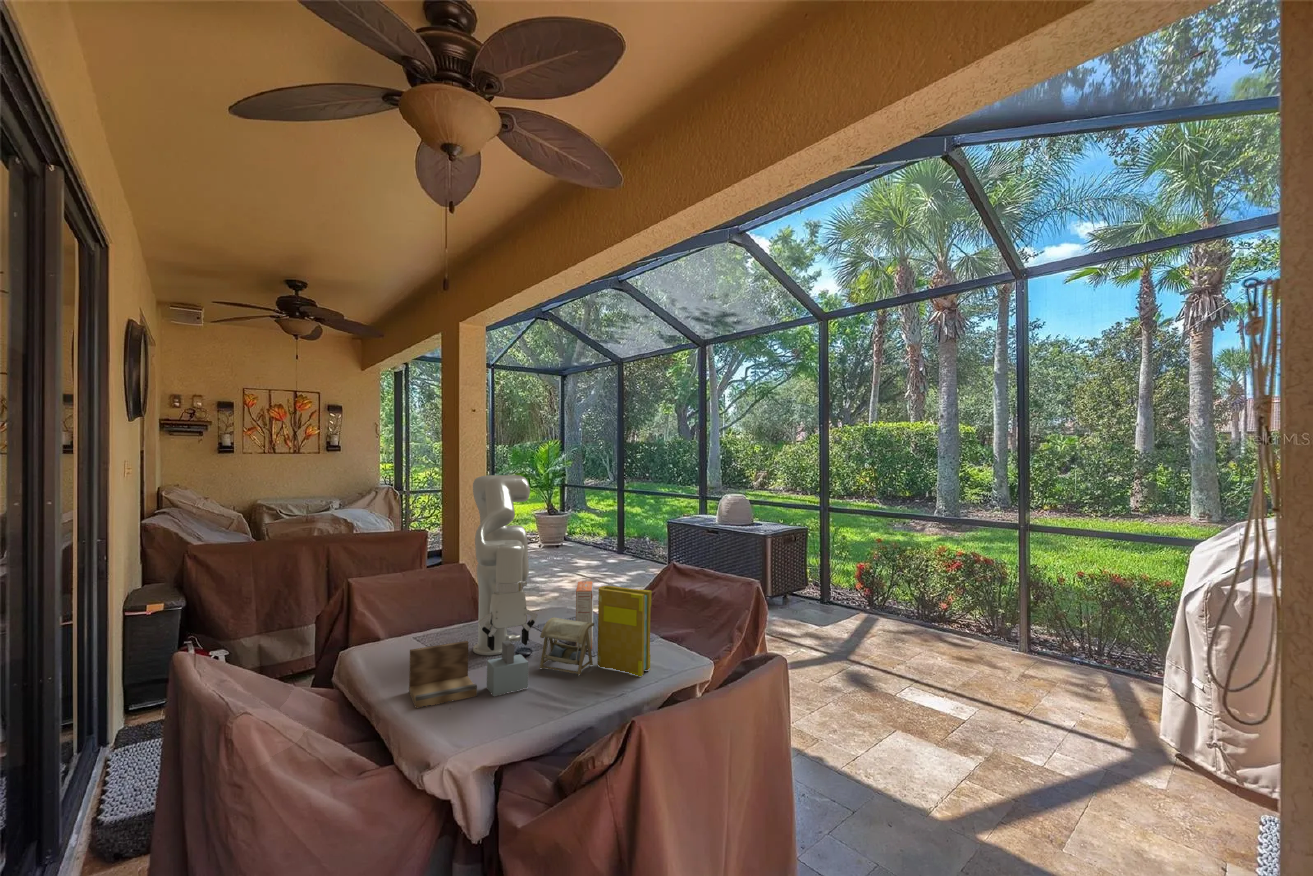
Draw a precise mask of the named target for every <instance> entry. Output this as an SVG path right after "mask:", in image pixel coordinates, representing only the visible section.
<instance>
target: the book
mask: <svg viewBox="0 0 1313 876" xmlns="http://www.w3.org/2000/svg"><path fill="white" fill-rule="evenodd" d="M597 594H598V602H597V603H598V605H597V610H598V611H597V663H596V664H598V665H599V666H600V667H605V668H613V669H616V670H620V671H625V672H629V673H632V674H635V675H638V676H642V675H643V674H644V672H645V671H644V670H648V669H649V668H650V669H651V613H652V612H651V607H652V590H648V589H638V588H629V587H622V586H621V587H620V586H613V585H601V586H599V587H598V593H597ZM643 676H644V675H643ZM643 676H642V677H643Z"/></svg>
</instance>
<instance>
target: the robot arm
mask: <svg viewBox="0 0 1313 876" xmlns="http://www.w3.org/2000/svg"><path fill="white" fill-rule="evenodd" d="M530 494H531V488H530V484H529V481H528V479H527V478H526V476H524V475H523V476H522V475H517V474H516V475H515V474H514V475H513V474H512V475H511V474H509V475H508V474H507V475H506V474H505V475H504V474H503V475H499V474H498V475H497V474H492V475H491V474H490V475H489V474H488V475H481V476H477V477H476V478H474V480H473V482H472V495H473V499H474V503H475V504H476V507H477V509H478V513H479V525H478V527H477V529H476V532H475V535H474V536H475V537H474V547H475V558H476V561H477V566H476V579H477V587H478V620H477V624H478V626H477V627H478V628H477V631H478V632H477V643H476V644H474V645H473V646H472V647H473V648H472V649H473V650H472V651H473V652H474V653H475V654H476V655H479V656H496V655H502V642H504V641H510V642H511V643H512V644H513V642H520V641H521V643H522V644H523V646H527V645H528V642H529V639H530V631H531V629H532V627H533V626H534V625H535V623H536V620H537V618H538V613H537V612H534V611H532V610H530V609H528V608H527V600H526V599H527V598H526V593H525V590H524V587H526V586H528V582H527V580H528V579H529V572H530V571H529V570H530V568H529V548H528V546H529V545H528V543H529V542H528V534H527V532H526V529H525V528H524V526H522V525H518V524H513V525H511V523H512V522H513V520H514V519H515V518H516V517H515V516H516V513H515V512H516V511H515V506H514V503H517V502H518V503H522V502H523V503H524V502H526V501H528V499H529V497H530ZM509 524H510V525H509ZM528 616H530V619H529V620H528ZM513 627H514V628H515V627H516V628H517V627H522V628H521V635H520V634H516V635H515V634H510V635H509V634H508V631H507V630H508V628H513Z"/></svg>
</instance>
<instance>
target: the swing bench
mask: <svg viewBox="0 0 1313 876" xmlns="http://www.w3.org/2000/svg"><path fill="white" fill-rule="evenodd" d="M592 626H593V627H595V623H594V622H593V623H589V622H580V621H576V620H571V619H565V618H560V617H551V618H549V619H548V620H547V621H546V623H545V624H544V626H543V628H542V630H541V631H540V632H541V633H540V636H539V637H540V639H543V646H542V652H541V657H540V658H541V659H540V663H539V669H540V668H543V669H545V668H548V669H547V670H551V669H554V670H553V671H557V670H559V672H563V671H564V673H568V672H569V673H570V674H574V673H576V674H575V675H577V674H578V675H579V674H581V675H582V670H583V669H585V668H586V667H587V666H588V665H589V666H590V665H593V666H594V662H593V655H592V650H591V646H590V640H589V633H588V629H589V628H590V627H592ZM558 641H565V642H572V643H576V642H578V643H579V644H582V647H579V644H578V647H576V645H568V644H565V643H560V642H558ZM586 643H587V645H585V644H586ZM549 644H550V645H549ZM548 646H549V647H550V650H549V651H550V652H549V654H547V652H548V651H547V650H548ZM587 649H588V650H587ZM586 653H587V655H588V661H587V662H586V663H584V659H585V657H586ZM548 661H552V662H557V663H559V664H560V663H561V664H564V665H565V664H566V665H575V666H578V668H577V670H571V669H566V668H559V667H554V666H548V665H545V663H546V662H548ZM569 673H568V674H569Z"/></svg>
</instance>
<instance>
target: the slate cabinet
mask: <svg viewBox="0 0 1313 876" xmlns="http://www.w3.org/2000/svg"><path fill="white" fill-rule="evenodd" d="M486 661H487V662H486V663H487V665H486V689H487V688H488V689H487V690H488V692H491V693H492V694H491V693H490V694H491V696H492V697H493V696H494V697H497V696H496V695H499V696H501V695H500V694H503V695H505V694H504V693H507V692H511V691H517V690H520V689H523V688H527V687H528V688H529V661H528V660H527V659H526V658H525V656H523V655H522V654H515V645H514V644H513V642H512V643H511V642H510V641H504V642H502V654H501V657H499V658H498V657H497V658H492V659H487V660H486Z"/></svg>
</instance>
